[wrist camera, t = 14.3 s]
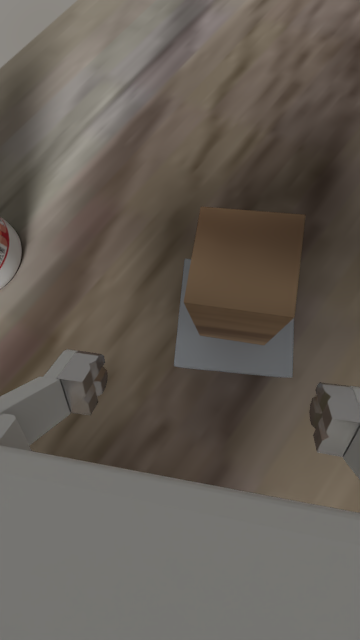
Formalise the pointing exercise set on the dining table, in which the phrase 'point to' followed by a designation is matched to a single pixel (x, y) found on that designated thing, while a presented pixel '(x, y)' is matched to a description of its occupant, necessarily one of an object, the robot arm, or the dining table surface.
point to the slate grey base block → (231, 348)
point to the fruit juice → (8, 252)
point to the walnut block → (244, 273)
